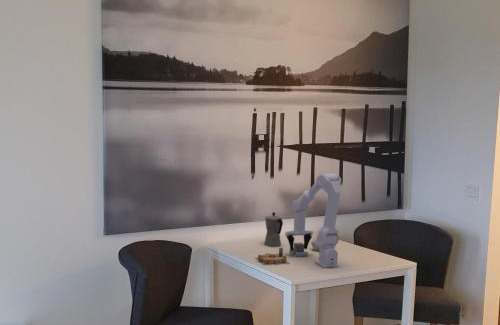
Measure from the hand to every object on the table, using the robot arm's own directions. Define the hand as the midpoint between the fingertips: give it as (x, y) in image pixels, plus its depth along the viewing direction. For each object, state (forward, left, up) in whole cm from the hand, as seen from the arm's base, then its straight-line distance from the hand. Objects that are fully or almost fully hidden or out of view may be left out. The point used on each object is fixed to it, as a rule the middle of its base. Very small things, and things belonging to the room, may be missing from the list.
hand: (298, 249), depth 291 cm
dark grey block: (0, 0, -2) cm, 2 cm away
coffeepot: (+22, +5, -3) cm, 23 cm away
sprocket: (-8, +18, -3) cm, 19 cm away
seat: (0, 0, -3) cm, 3 cm away
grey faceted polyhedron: (+7, -15, -3) cm, 17 cm away
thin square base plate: (-8, +18, -3) cm, 19 cm away
